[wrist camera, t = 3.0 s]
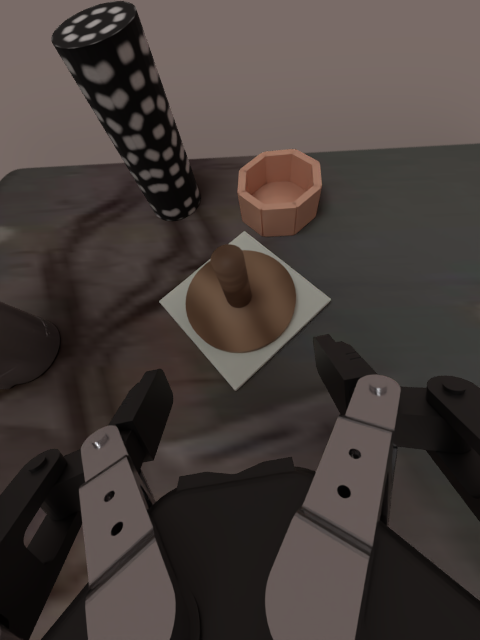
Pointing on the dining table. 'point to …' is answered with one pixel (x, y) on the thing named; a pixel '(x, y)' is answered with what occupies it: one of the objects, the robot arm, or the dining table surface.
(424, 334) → the dining table surface
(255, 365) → the rubber mat
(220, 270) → the walnut lid
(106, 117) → the spotted tube
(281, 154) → the terracotta bowl
